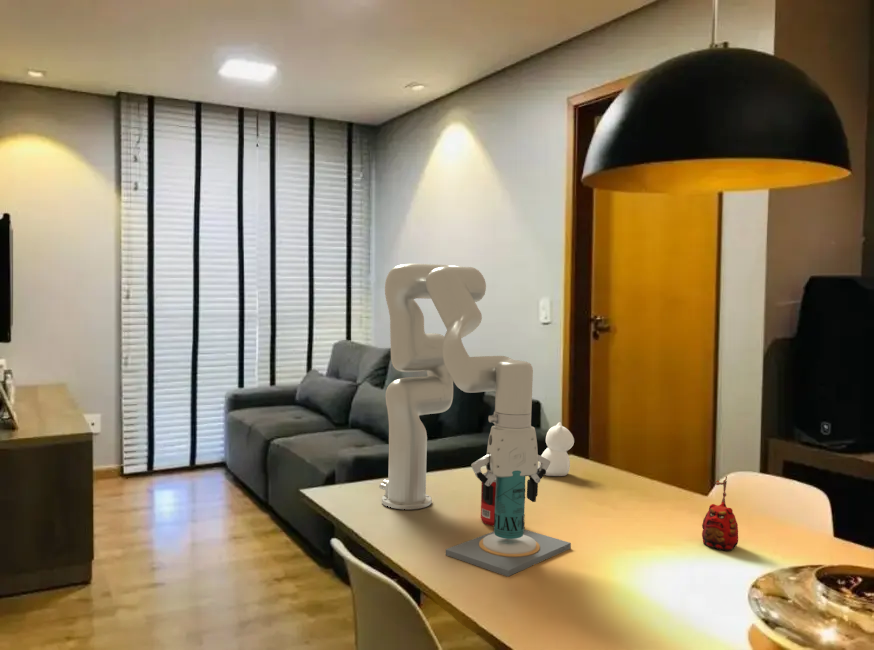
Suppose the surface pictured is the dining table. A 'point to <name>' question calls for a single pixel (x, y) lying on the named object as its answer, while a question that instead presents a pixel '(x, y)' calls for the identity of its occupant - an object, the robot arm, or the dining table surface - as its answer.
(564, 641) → the dining table surface
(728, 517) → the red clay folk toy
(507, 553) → the board
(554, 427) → the cat figurine
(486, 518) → the canned food
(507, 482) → the beverage bottle
